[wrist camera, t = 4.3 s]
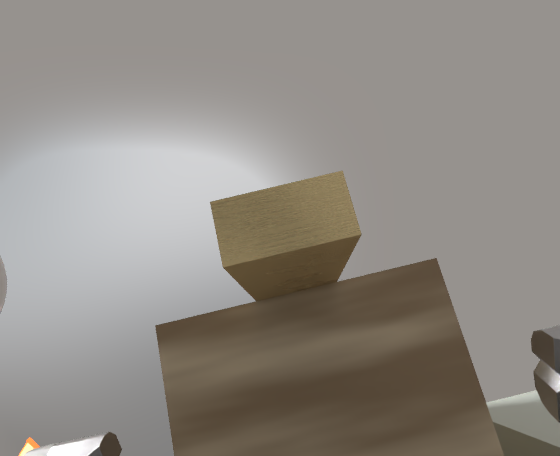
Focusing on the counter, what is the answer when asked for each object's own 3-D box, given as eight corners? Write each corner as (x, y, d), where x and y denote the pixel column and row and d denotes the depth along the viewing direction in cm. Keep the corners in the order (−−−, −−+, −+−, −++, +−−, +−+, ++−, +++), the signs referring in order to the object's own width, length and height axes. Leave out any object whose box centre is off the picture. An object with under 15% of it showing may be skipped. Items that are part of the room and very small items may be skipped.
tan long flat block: (361, 234, 12) (342, 170, 13) (222, 267, 12) (210, 202, 12) (323, 306, 33) (317, 282, 34) (273, 319, 33) (268, 293, 34)
